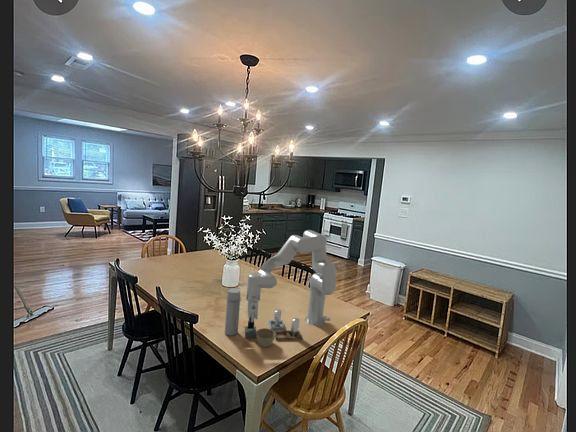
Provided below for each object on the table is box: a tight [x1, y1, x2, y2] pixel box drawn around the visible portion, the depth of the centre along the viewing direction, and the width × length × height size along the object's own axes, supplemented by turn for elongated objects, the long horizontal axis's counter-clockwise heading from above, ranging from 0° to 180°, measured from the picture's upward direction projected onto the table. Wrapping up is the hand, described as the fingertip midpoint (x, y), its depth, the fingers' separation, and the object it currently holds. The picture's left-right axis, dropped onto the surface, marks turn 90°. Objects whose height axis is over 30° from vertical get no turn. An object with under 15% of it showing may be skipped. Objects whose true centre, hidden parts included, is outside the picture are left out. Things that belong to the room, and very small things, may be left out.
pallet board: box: [273, 329, 303, 341], centre depth 171 cm, size 14×7×3 cm, turn 101°
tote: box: [268, 319, 286, 331], centre depth 181 cm, size 8×8×3 cm
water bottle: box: [224, 287, 242, 337], centre depth 169 cm, size 9×8×25 cm
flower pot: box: [256, 327, 275, 348], centre depth 162 cm, size 10×10×7 cm
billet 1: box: [272, 308, 282, 327], centre depth 180 cm, size 4×4×10 cm
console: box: [244, 325, 257, 339], centre depth 170 cm, size 6×6×4 cm
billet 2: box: [290, 317, 300, 337], centre depth 171 cm, size 4×4×10 cm
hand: (250, 327), depth 169 cm, fingers closed
